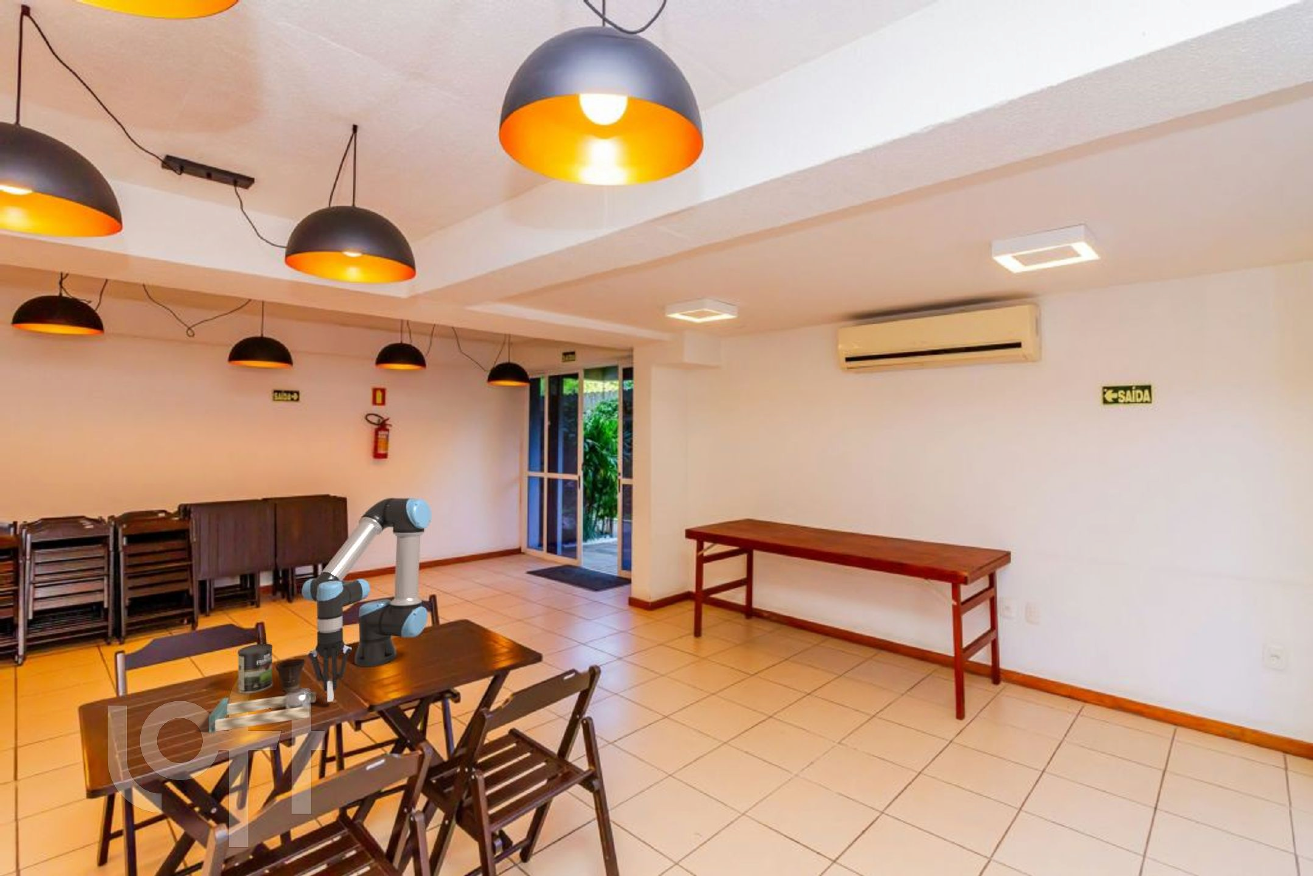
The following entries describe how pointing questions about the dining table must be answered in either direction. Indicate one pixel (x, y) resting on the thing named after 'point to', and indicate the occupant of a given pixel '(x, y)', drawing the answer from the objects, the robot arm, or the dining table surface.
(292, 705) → the keeper
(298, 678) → the cup
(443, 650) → the dining table surface
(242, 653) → the coffee can
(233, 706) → the channel
